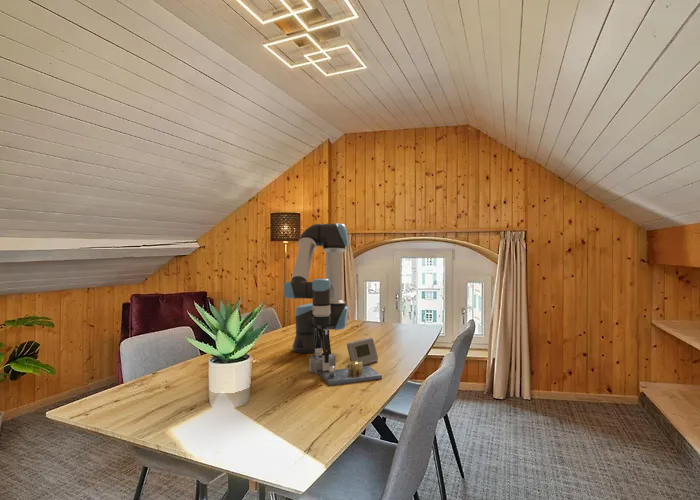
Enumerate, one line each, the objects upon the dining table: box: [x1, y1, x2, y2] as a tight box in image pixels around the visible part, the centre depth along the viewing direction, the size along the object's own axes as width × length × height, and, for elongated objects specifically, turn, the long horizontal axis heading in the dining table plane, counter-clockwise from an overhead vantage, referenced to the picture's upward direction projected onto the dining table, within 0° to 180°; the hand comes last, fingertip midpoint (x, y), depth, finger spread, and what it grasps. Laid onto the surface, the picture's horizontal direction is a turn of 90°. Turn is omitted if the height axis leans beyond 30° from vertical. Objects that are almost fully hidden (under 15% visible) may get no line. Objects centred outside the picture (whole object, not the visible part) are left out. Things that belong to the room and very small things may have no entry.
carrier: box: [318, 360, 383, 386], centre depth 173 cm, size 14×22×6 cm, turn 110°
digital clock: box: [346, 337, 379, 366], centre depth 192 cm, size 16×9×11 cm, turn 123°
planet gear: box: [308, 352, 336, 375], centre depth 182 cm, size 11×11×6 cm
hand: (322, 366), depth 182 cm, fingers closed on planet gear, 11 cm apart
